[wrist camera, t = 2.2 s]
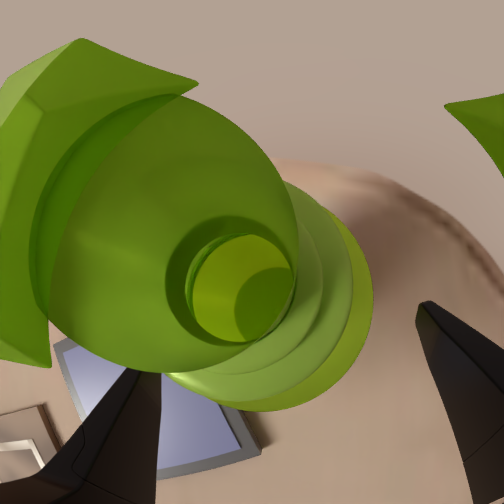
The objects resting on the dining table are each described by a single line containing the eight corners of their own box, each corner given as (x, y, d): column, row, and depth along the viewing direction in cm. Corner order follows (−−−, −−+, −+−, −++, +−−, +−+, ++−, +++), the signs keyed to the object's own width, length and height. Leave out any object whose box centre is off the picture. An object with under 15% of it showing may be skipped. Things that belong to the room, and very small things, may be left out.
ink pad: (262, 449, 18) (260, 455, 17) (121, 481, 18) (114, 486, 17) (186, 285, 21) (180, 283, 20) (60, 344, 22) (51, 344, 20)
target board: (140, 565, 16) (137, 570, 15) (37, 547, 16) (33, 549, 15) (41, 404, 21) (35, 406, 20) (-32, 423, 21) (-36, 424, 20)
